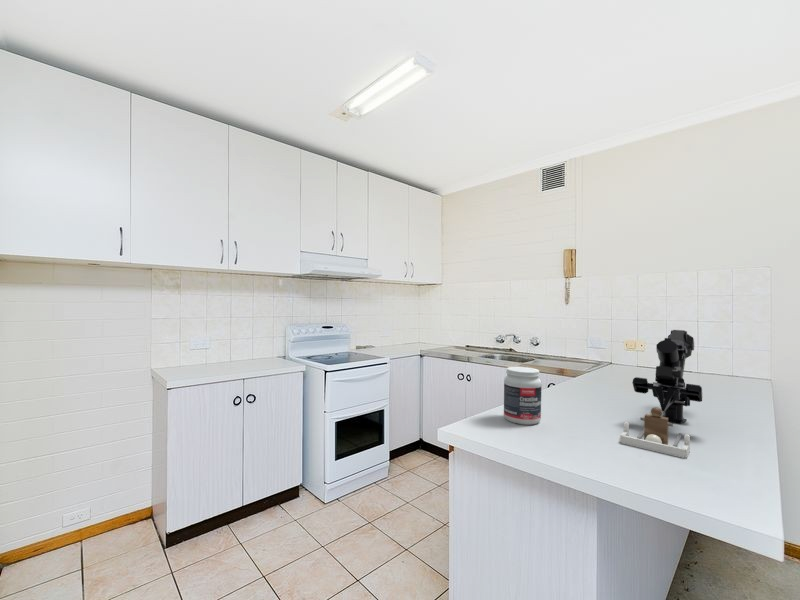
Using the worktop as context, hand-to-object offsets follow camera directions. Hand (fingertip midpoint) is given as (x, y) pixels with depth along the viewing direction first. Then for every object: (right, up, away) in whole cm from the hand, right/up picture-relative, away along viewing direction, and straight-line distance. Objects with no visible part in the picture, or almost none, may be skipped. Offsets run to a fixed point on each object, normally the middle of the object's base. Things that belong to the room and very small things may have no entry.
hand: (663, 410), depth 122 cm
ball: (-11, -5, -12) cm, 17 cm away
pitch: (-6, -8, -6) cm, 12 cm away
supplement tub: (-41, -8, +14) cm, 44 cm away
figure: (-9, -7, -9) cm, 14 cm away
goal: (-11, -8, -12) cm, 18 cm away
